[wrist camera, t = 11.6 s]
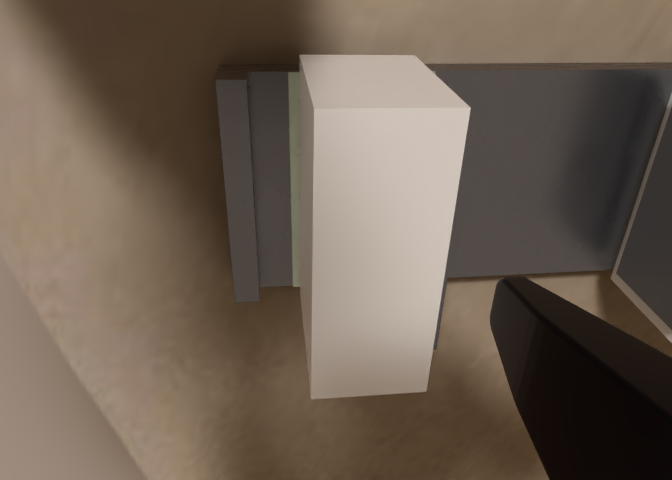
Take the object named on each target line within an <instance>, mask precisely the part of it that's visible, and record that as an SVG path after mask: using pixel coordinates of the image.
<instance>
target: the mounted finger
mask: <svg viewBox="0 0 672 480" xmlns="http://www.w3.org/2000/svg"><path fill="white" fill-rule="evenodd" d="M610 279H611V280H612V281H613V282H614V283H615V284H616V285H617V286H618V287H619V288H620V289H621V290H622V291H623V293H624V294H625V295H626V296H627V297H628V298H629V299H630V300H631V301H632V302H633V303H634V304H635V305H636V306H637V307H638V308H639V309H640V310H641V311H642V313H643V314H644V315H645V316H646V317H647V318H648V319H649V320H650V321H651V322H652V323H653V324H654V325H655V326H656V327H657V328H658V329H659V330H660V331H661V332H662V334H663V335H664V336H665V337H666V338H667V339H668V340H669V341H670V342H671V343H672V93H671V96H670V99H669V102H668V106H667V109H666V112H665V115H664V118H663V121H662V124H661V127H660V130H659V133H658V136H657V139H656V142H655V145H654V148H653V151H652V154H651V157H650V160H649V163H648V166H647V169H646V172H645V175H644V178H643V181H642V184H641V187H640V190H639V193H638V197H637V200H636V203H635V206H634V209H633V212H632V215H631V218H630V221H629V224H628V227H627V230H626V233H625V236H624V239H623V242H622V245H621V248H620V251H619V254H618V257H617V260H616V263H615V266H614V269H613V272H612V275H611V278H610Z"/></svg>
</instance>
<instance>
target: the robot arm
mask: <svg viewBox="0 0 672 480" xmlns="http://www.w3.org/2000/svg"><path fill="white" fill-rule="evenodd" d="M490 325H491V330H492V333H493V336H494V339H495V342H496V346H497V349H498V352H499V355H500V358H501V361H502V364H503V367H504V371H505V374H506V377H507V380H508V383H509V386H510V389H511V392H512V395H513V398H514V401H515V404H516V406H517V408H518V411H519V413H520V415H521V418H522V420H523V422H524V424H525V426H526V429H527V431H528V433H529V435H530V438H531V440H532V442H533V444H534V446H535V449H536V451H537V453H538V455H539V457H540V460H541V462H542V464H543V466H544V468H545V471H546V473H547V475H548V477H549V479H550V480H672V358H671V357H669V356H668V355H666V354H664V353H662V352H660V351H658V350H657V349H655V348H653V347H651V346H649V345H647V344H646V343H644V342H642V341H640V340H638V339H636V338H635V337H633V336H631V335H629V334H627V333H626V332H624V331H622V330H620V329H618V328H616V327H615V326H613V325H611V324H609V323H607V322H605V321H604V320H602V319H600V318H598V317H596V316H594V315H593V314H591V313H589V312H587V311H585V310H583V309H582V308H580V307H578V306H576V305H574V304H572V303H571V302H569V301H567V300H565V299H563V298H561V297H560V296H558V295H556V294H554V293H552V292H550V291H549V290H547V289H545V288H543V287H541V286H539V285H538V284H536V283H534V282H532V281H530V280H529V279H527V278H525V277H521V276H519V277H503V278H501V279H499V280H498V282H497V285H496V289H495V294H494V299H493V303H492V308H491V313H490Z"/></svg>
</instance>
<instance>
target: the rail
mask: <svg viewBox="0 0 672 480" xmlns="http://www.w3.org/2000/svg"><path fill="white" fill-rule="evenodd" d="M425 65H426V66H427V67H428V68H429V69H430V70H431V71H432V72H433V73H434V74H435V75H436V76H437V77H438V78H439V79H441V80H442V81H443V82H444V83H445V84H446V85H447V86H448V87H449V88H450V89H451V90H452V91H453V92H454V93H456V94H457V95H458V96H459V97H460V98H461V99H462V100H463V101H464V102H465V103H466V104H467V105H468V106H469V107H470V108H471V110H470V116H469V122H468V129H469V130H470V131H471V135H470V141H469V147H468V154H467V160H466V166H465V172H464V179H463V185H462V191H461V197H460V204H459V210H458V216H457V222H456V229H455V235H454V241H453V247H452V254H451V260H450V266H449V272H448V278H457V277H477V276H497V275H517V274H537V273H557V272H578V271H598V270H613V269H614V266H615V263H616V260H617V257H618V254H619V251H620V248H621V245H622V242H623V239H624V236H625V233H626V230H627V227H628V224H629V221H630V218H631V215H632V212H633V209H634V206H635V203H636V200H637V197H638V193H639V190H640V187H641V184H642V181H643V178H644V175H645V172H646V169H647V166H648V163H649V160H650V157H651V154H652V151H653V148H654V145H655V142H656V139H657V136H658V133H659V130H660V127H661V124H662V121H663V118H664V115H665V112H666V109H667V106H668V102H669V99H670V96H671V93H672V63H526V64H425ZM215 82H216V94H217V105H218V116H219V128H220V139H221V150H222V161H223V173H224V184H225V195H226V207H227V218H228V229H229V241H230V252H231V263H232V275H233V286H234V297H235V303H241V302H260V287H277V286H293V287H300V80H299V65H219V68H218V72H217V75H216V79H215Z"/></svg>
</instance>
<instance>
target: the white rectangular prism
mask: <svg viewBox="0 0 672 480" xmlns="http://www.w3.org/2000/svg"><path fill="white" fill-rule="evenodd" d="M299 80H300V298H301V308H302V318H303V327H304V337H305V347H306V356H307V366H308V376H309V385H310V395H311V399H325V398H341V397H356V396H371V395H386V394H401V393H416V392H426V391H427V385H428V378H429V372H430V366H431V359H432V353H433V350H435V349H436V347H437V341H438V335H439V329H440V322H441V316H442V310H443V304H444V297H445V291H446V285H447V279H448V272H449V266H450V260H451V254H452V247H453V241H454V235H455V229H456V222H457V216H458V210H459V204H460V197H461V191H462V185H463V179H464V172H465V166H466V160H467V154H468V147H469V141H470V135H471V131H470V130H469V129H468V122H469V116H470V110H471V108H470V107H469V106H468V105H467V104H466V103H465V102H464V101H463V100H462V99H461V98H460V97H459V96H458V95H457V94H456V93H454V92H453V91H452V90H451V89H450V88H449V87H448V86H447V85H446V84H445V83H444V82H443V81H442V80H441V79H439V78H438V77H437V76H436V75H435V74H434V73H433V72H432V71H431V70H430V69H429V68H428V67H427V66H426V65H425V64H423V63H422V62H421V61H420V60H419V59H418V58H417V57H416V56H415V55H299Z"/></svg>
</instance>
